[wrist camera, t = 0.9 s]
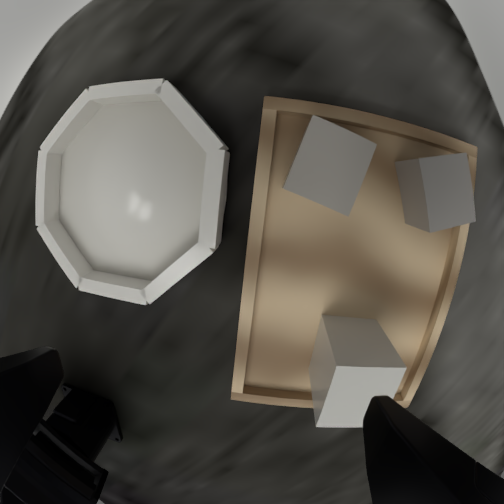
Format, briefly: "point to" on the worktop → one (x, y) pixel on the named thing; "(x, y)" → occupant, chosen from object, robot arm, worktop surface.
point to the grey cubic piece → (329, 165)
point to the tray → (339, 257)
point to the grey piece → (436, 191)
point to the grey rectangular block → (351, 369)
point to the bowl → (131, 189)
